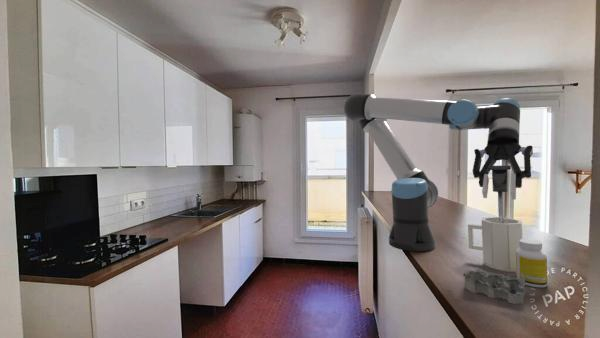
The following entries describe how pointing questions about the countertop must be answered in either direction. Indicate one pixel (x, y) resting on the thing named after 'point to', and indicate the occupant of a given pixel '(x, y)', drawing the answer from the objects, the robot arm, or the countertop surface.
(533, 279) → the supplement bottle
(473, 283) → the egg carton
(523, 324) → the countertop surface
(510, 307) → the countertop surface
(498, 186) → the plunger
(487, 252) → the white paneled mug
